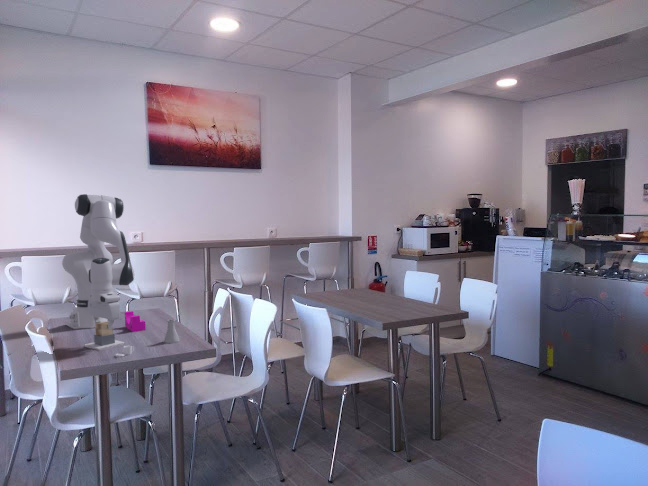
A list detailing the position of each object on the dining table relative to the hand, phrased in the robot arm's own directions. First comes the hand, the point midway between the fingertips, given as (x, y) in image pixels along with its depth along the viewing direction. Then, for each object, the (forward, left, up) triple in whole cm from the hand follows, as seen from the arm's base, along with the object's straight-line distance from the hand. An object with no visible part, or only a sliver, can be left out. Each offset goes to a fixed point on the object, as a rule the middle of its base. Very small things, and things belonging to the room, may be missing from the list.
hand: (103, 327), depth 225 cm
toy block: (-19, +27, -8) cm, 34 cm away
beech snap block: (0, 0, -3) cm, 3 cm away
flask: (+20, +20, -8) cm, 29 cm away
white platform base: (0, 0, -8) cm, 8 cm away
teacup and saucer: (+20, -4, -9) cm, 22 cm away
